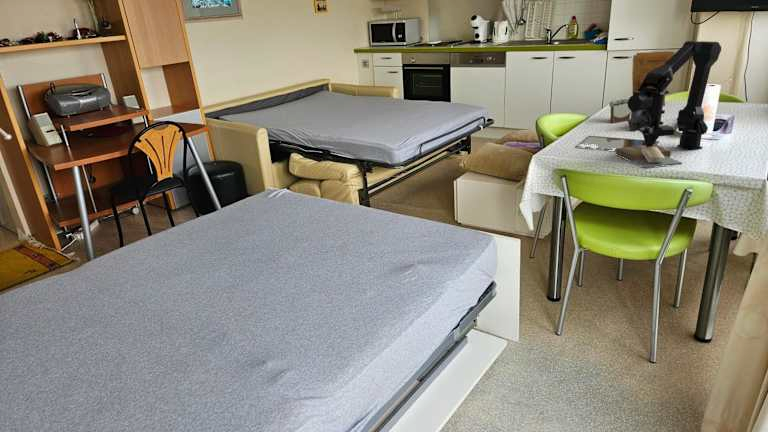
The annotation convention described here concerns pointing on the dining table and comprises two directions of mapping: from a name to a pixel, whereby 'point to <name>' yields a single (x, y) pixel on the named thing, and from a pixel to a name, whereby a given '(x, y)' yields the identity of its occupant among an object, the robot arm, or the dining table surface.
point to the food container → (619, 111)
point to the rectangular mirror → (612, 142)
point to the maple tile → (652, 154)
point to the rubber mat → (647, 164)
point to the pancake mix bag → (647, 66)
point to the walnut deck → (638, 152)
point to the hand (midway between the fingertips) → (648, 149)
